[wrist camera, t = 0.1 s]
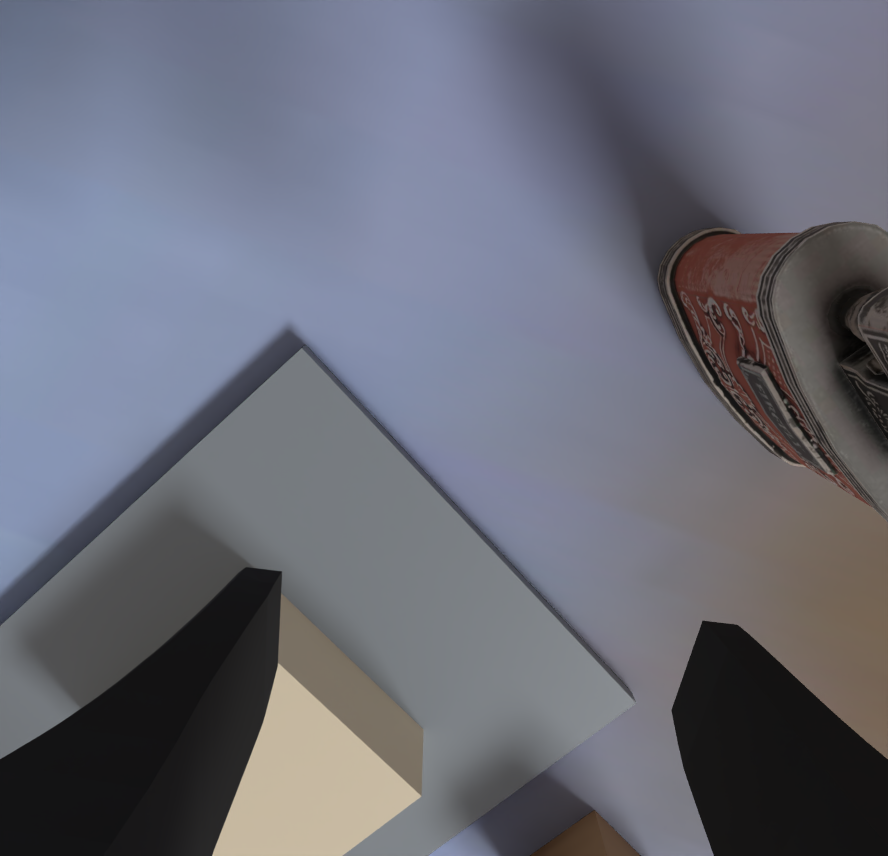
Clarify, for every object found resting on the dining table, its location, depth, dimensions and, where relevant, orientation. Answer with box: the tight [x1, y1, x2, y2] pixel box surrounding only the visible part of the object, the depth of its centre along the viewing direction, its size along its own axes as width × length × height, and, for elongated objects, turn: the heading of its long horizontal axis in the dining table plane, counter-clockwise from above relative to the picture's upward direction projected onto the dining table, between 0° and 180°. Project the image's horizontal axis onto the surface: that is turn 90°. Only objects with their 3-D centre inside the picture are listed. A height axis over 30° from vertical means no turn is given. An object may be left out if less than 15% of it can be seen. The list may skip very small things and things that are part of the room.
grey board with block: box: [0, 345, 636, 856], centre depth 23 cm, size 20×16×4 cm
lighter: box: [657, 222, 888, 522], centre depth 17 cm, size 8×3×10 cm, turn 38°
